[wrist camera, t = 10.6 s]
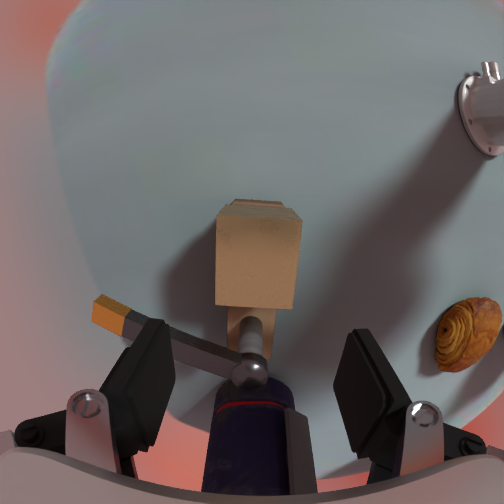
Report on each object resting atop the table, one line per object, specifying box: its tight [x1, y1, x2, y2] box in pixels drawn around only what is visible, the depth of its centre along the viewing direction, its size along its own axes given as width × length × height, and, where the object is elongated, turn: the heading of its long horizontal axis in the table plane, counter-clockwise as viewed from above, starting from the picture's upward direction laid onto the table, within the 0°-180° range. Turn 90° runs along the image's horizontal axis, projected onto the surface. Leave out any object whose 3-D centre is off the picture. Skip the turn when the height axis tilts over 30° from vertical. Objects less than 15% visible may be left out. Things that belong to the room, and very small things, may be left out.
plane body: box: [227, 199, 286, 359], centre depth 27 cm, size 17×5×11 cm, turn 177°
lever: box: [92, 294, 268, 390], centre depth 21 cm, size 16×3×2 cm, turn 67°
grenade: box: [201, 377, 318, 496], centre depth 23 cm, size 14×12×30 cm
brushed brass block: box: [215, 205, 302, 309], centre depth 23 cm, size 7×6×6 cm
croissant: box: [435, 297, 502, 373], centre depth 32 cm, size 14×16×8 cm
